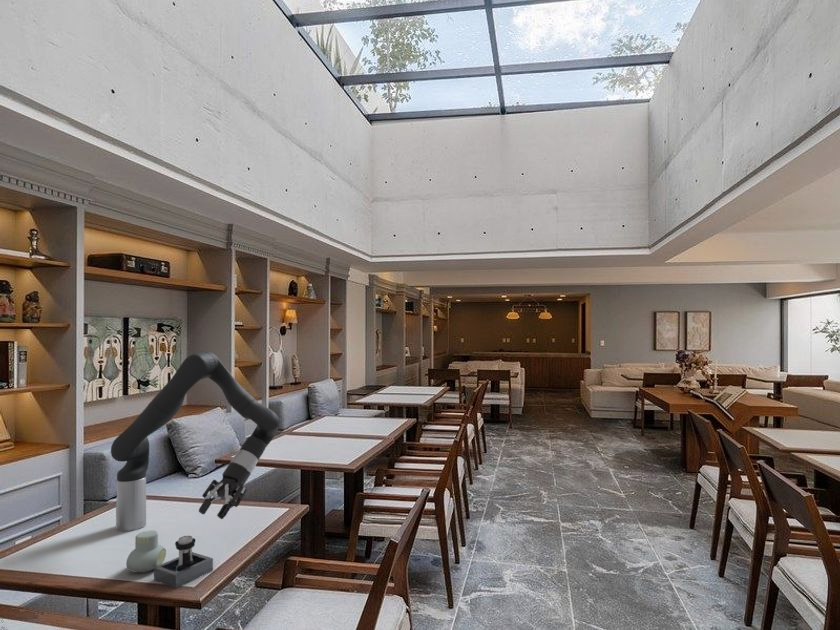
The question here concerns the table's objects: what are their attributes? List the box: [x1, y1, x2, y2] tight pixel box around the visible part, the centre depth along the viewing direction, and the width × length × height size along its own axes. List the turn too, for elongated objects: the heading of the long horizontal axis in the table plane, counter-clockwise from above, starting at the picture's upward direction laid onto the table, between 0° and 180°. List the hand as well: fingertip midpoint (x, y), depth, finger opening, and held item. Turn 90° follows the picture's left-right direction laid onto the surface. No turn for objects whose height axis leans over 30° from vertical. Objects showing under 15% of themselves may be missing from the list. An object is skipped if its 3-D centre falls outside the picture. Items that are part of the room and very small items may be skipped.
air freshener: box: [125, 530, 167, 573], centre depth 152 cm, size 11×8×10 cm
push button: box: [174, 535, 196, 572], centre depth 148 cm, size 7×5×10 cm
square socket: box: [153, 551, 214, 589], centre depth 147 cm, size 10×12×4 cm
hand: (210, 515), depth 155 cm, fingers open, 8 cm apart
